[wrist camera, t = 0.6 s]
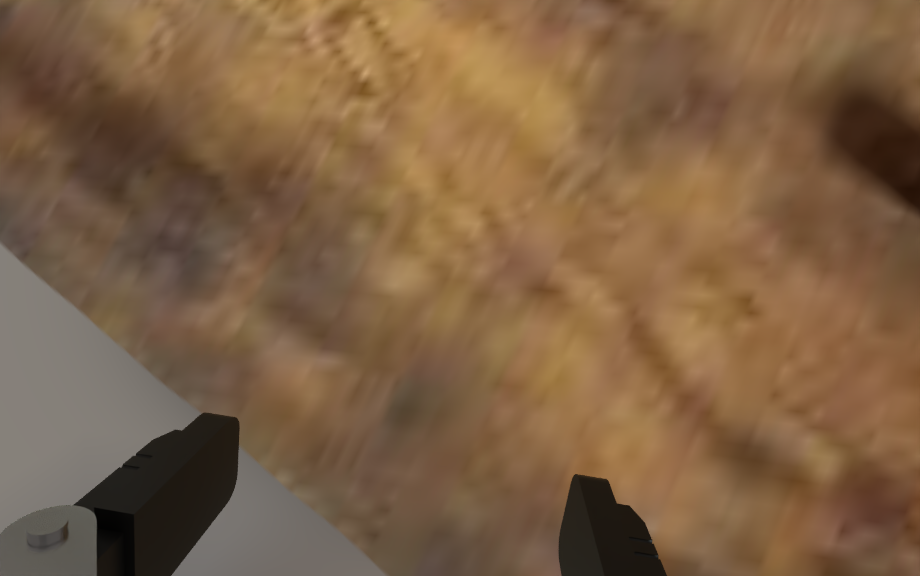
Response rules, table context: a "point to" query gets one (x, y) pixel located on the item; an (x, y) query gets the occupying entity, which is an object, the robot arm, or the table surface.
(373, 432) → the table surface
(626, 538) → the robot arm
